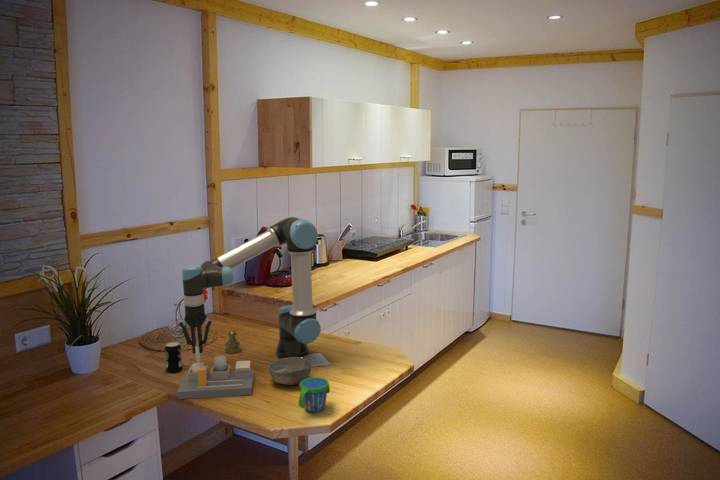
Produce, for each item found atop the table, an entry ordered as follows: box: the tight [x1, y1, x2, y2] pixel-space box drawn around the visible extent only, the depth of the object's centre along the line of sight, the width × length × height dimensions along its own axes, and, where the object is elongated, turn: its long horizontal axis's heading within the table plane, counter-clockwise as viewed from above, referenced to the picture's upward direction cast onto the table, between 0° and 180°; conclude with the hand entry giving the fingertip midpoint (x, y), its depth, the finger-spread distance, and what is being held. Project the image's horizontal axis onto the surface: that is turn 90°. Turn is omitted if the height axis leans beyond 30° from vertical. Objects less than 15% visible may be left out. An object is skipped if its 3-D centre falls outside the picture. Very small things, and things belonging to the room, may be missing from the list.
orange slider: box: [198, 367, 207, 387], centre depth 224 cm, size 3×3×7 cm
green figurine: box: [224, 329, 242, 354], centre depth 271 cm, size 7×7×10 cm
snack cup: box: [298, 376, 331, 413], centre depth 210 cm, size 16×10×10 cm
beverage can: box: [164, 341, 183, 374], centre depth 248 cm, size 7×7×12 cm
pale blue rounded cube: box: [213, 354, 228, 371], centre depth 233 cm, size 5×5×5 cm
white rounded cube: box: [191, 362, 205, 373], centre depth 232 cm, size 5×5×5 cm
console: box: [176, 364, 255, 400], centre depth 230 cm, size 28×18×6 cm, turn 97°
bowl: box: [267, 357, 312, 386], centre depth 235 cm, size 18×18×8 cm
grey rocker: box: [235, 360, 251, 372], centre depth 234 cm, size 6×5×2 cm
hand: (198, 360), depth 232 cm, fingers closed
